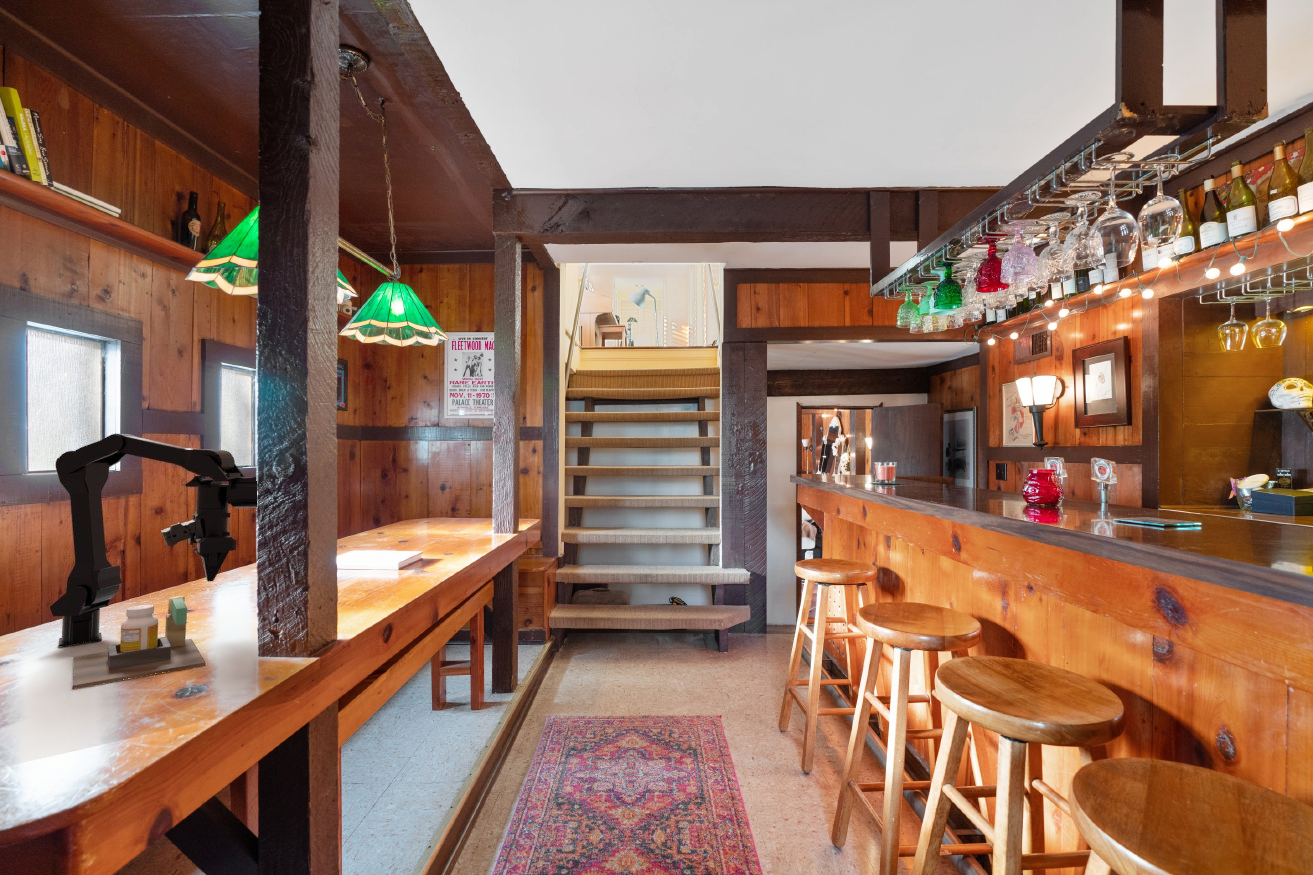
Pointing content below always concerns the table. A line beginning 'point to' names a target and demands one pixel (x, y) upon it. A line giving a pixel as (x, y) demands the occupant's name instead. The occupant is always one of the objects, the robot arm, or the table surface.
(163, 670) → the bottle stand
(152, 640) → the supplement bottle
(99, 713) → the table surface
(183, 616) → the keeper arm
